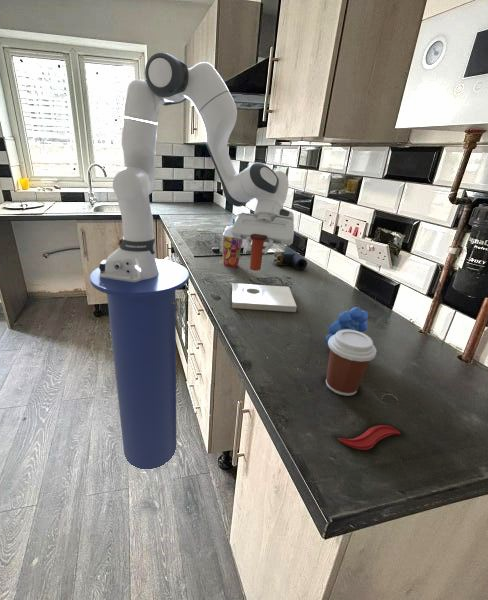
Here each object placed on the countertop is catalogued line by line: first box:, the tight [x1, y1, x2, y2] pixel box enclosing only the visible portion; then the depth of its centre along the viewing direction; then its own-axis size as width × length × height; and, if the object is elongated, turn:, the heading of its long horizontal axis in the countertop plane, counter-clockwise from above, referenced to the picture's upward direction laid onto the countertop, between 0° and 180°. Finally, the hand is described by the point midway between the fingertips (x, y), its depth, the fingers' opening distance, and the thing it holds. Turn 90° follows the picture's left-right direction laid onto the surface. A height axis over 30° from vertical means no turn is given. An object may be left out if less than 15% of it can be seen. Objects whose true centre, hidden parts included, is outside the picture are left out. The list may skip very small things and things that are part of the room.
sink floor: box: [231, 283, 298, 313], centre depth 108 cm, size 20×16×2 cm
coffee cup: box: [325, 329, 378, 397], centre depth 67 cm, size 9×9×12 cm
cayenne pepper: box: [337, 424, 401, 451], centre depth 56 cm, size 12×5×2 cm, turn 93°
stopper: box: [249, 234, 267, 271], centre depth 103 cm, size 5×5×11 cm
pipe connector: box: [272, 248, 308, 271], centre depth 141 cm, size 12×5×15 cm
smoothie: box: [222, 218, 243, 269], centre depth 134 cm, size 8×8×20 cm
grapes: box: [325, 306, 369, 345], centre depth 80 cm, size 12×7×12 cm, turn 109°
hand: (256, 251), depth 103 cm, fingers closed on stopper, 3 cm apart
